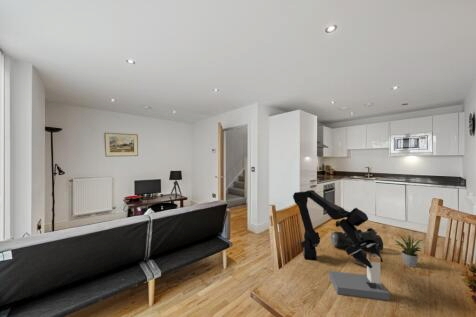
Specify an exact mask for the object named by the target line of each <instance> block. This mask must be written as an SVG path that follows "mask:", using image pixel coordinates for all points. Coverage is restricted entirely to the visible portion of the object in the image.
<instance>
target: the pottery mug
mask: <svg viewBox="0 0 476 317" xmlns="http://www.w3.org/2000/svg"><path fill="white" fill-rule="evenodd" d="M367 253H368V252H366V250H364V254H365V256H366V257H367ZM352 262H353V264H357V265H363V266H364V265H365V264H364V263H362V262H361V261H359V260H358V259H356V258H354V257H353V256H352Z"/></svg>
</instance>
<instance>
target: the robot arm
mask: <svg viewBox="0 0 476 317" xmlns="http://www.w3.org/2000/svg"><path fill="white" fill-rule="evenodd" d="M292 198H293V202H294V203H295V204H296V205H297V207H298V209H299V213H300V217H301V220H302V225H303V228H304V234H303V239H304V240H303V241H302V242H300V247H301V248H303V253H302V256H303V258H304V260H308V261H309V260H311V261H317V249H316V248H317V247H318V246H319V245H320V242H321V237H320V234H319V232H318V231H317V232H316V230H315V229H314V226H313V223H312V219H311V216H310V212H309V207H308V200H309V199H310V200H312V201H313V202H314V203H315V204H317V205H318V206H319V207H321V208H322V209H323V210H325V212H326V215H328V216H329V217H330V219H331V220H334V221H335V227H336V228H338V227H340V228H341V229H342V231H343V233H346V235H347V236H346V238H349V239H350V240H351V242H352V243H353V244H352V245H350V246H349V247H347V248H344V249H345V253H346V254H347V256H351V257H352V258H353V257H354V258H356V259H358V260H359V261H361V262H362V263H364V264H363V265H365V266H366V267H367V266H368V267H369V268H372V265H371V263H370V262H369V260H368V259H367V257H366V256H365V254H364V251H368V253H372V254H377V255H378V256H379V257H380V258H381V263H383V262H384V259H383V258H382V256H381V253H380V250H379V251H378V248H377V247H378V245H379V244H378V243H376V242H378V241H379V240H378V239H377V236H376V235H378V232H377V231H376V230H375V229H374V228H373V227H370V228H369V227H368V228H367V229H366V231H363V230H362V229H358V228H357V227H360V226H361V225H362V224H364V223H365V222H367V221H369V216H368V215H367V214H366V212H365V211H363V210H360V209H359V208H358V207H354V208H353V209H352V210H351V211H348V210H345V209H344V207H341V206H339V205H337V204H334V203H331V202H330V201H328V200H327V199H325V197H323V196H322V195H320V194H318V193H317V192H316V191H315V190H313V189H310V190H309V189H308V190H306V191H297V192H296V191H295V192H293V195H292ZM336 220H337V221H336ZM362 247H367V248H366V250H364V249H361V248H362Z"/></svg>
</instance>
